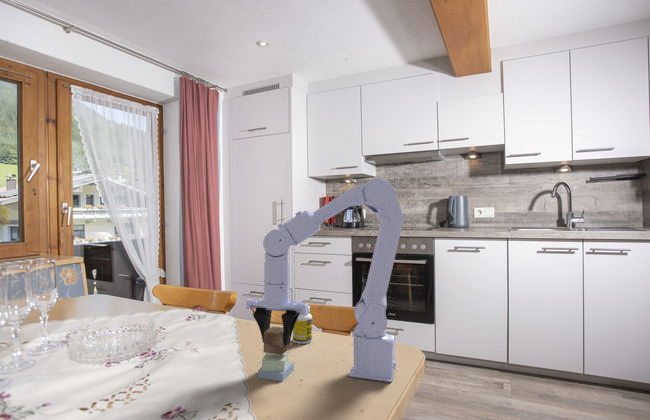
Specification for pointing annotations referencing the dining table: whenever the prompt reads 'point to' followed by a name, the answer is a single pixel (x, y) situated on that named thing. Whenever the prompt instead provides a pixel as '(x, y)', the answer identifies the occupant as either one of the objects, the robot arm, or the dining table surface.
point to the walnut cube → (275, 341)
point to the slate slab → (277, 373)
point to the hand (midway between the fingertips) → (276, 342)
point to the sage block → (274, 362)
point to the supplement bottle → (303, 328)
